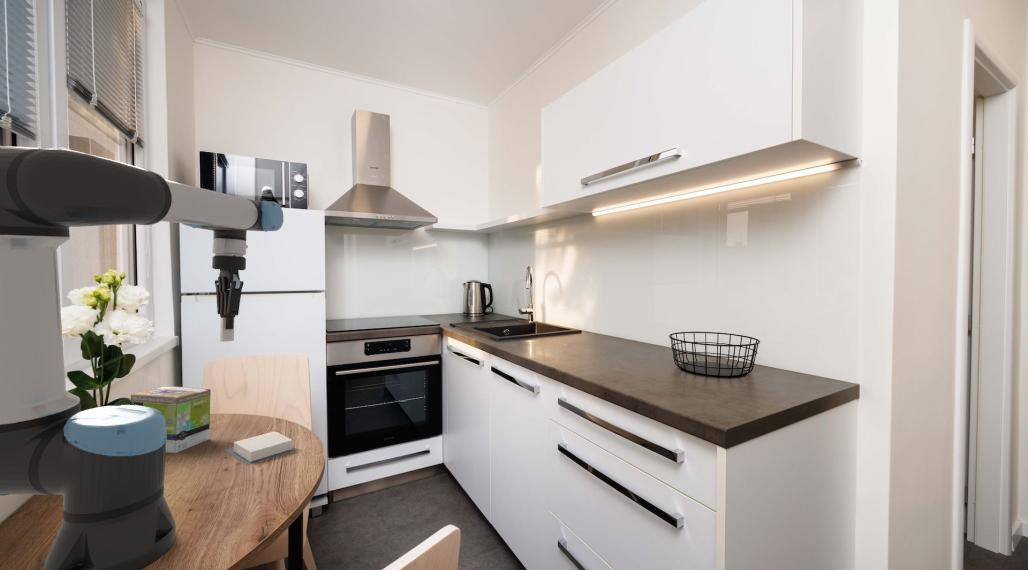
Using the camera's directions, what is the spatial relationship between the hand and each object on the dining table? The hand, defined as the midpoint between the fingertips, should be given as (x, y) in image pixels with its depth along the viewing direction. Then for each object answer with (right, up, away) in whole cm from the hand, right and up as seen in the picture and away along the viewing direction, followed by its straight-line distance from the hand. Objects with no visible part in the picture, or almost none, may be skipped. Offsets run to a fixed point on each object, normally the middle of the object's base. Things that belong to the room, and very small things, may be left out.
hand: (226, 340), depth 110 cm
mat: (+12, -29, -4) cm, 31 cm away
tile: (+9, -27, -2) cm, 28 cm away
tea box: (-14, -28, -2) cm, 32 cm away
